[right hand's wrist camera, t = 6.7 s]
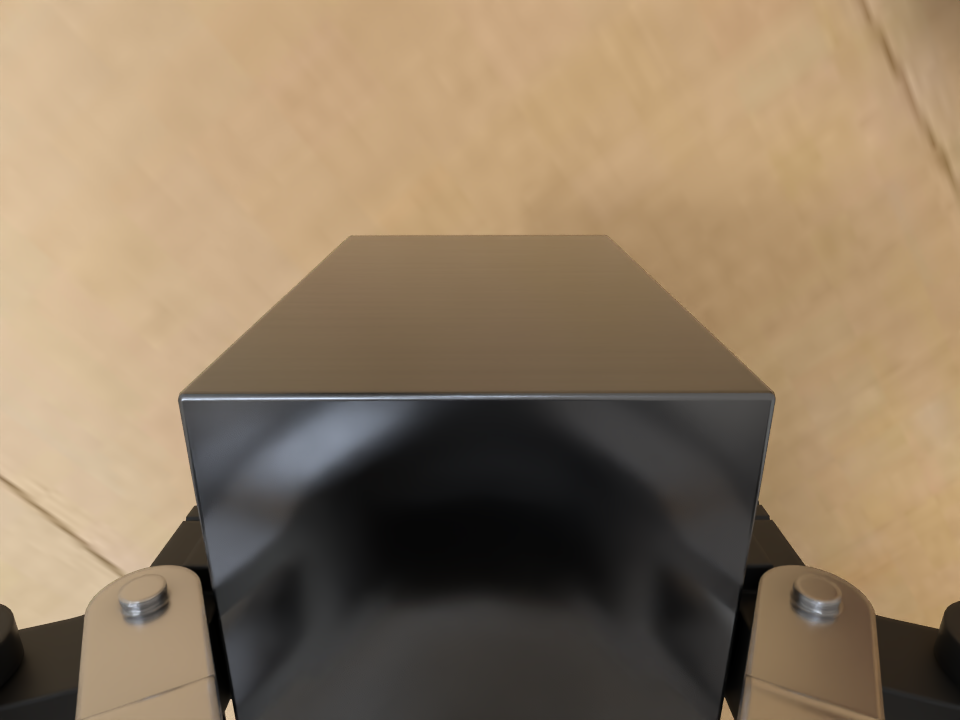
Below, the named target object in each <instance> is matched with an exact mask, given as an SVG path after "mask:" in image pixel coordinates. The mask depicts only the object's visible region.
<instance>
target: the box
mask: <svg viewBox="0 0 960 720" xmlns="http://www.w3.org/2000/svg"><path fill="white" fill-rule="evenodd" d="M178 402H179V408H180V413H181V419H182V425H183V430H184V436H185V441H186V447H187V452H188V458H189V463H190V469H191V474H192V480H193V486H194V491H195V497H196V502H197V508H198V513H199V519H200V524H201V530H202V536H203V541H204V547H205V552H206V558H207V563H208V569H209V574H210V580H211V585H212V591H213V597H214V602H215V608H216V613H217V619H218V624H219V630H220V635H221V641H222V646H223V652H224V658H225V663H226V669H227V674H228V680H229V685H230V691H231V696H232V702H233V707H234V713H235V719H236V720H720V717H721V712H722V706H723V700H724V694H725V688H726V683H727V677H728V671H729V665H730V660H731V654H732V648H733V642H734V636H735V631H736V625H737V619H738V613H739V608H740V602H741V596H742V590H743V584H744V579H745V573H746V567H747V561H748V555H749V550H750V544H751V538H752V532H753V527H754V521H755V515H756V509H757V503H758V498H759V492H760V486H761V480H762V474H763V469H764V463H765V457H766V451H767V446H768V440H769V434H770V428H771V422H772V417H773V411H774V405H775V394H774V392H773V391H772V390H771V389H770V388H769V387H768V386H767V385H766V384H765V383H764V382H762V381H761V380H760V379H759V378H758V377H757V376H756V375H755V374H754V373H753V372H752V371H751V370H750V369H749V368H748V367H747V366H745V365H744V364H743V363H742V362H741V361H740V360H739V359H738V358H737V357H736V356H735V355H734V354H733V353H732V352H731V351H730V350H728V349H727V348H726V347H725V346H724V345H723V344H722V343H721V342H720V341H719V340H718V339H717V338H716V337H715V336H714V335H713V334H711V333H710V332H709V331H708V330H707V329H706V328H705V327H704V326H703V325H702V324H701V323H700V322H699V321H698V320H697V319H696V318H695V317H693V316H692V315H691V314H690V313H689V312H688V311H687V310H686V309H685V308H684V307H683V306H682V305H681V304H680V303H679V302H678V301H676V300H675V299H674V298H673V297H672V296H671V295H670V294H669V293H668V292H667V291H666V290H665V289H664V288H663V287H662V286H661V285H659V284H658V283H657V282H656V281H655V280H654V279H653V278H652V277H651V276H650V275H649V274H648V273H647V272H646V271H645V270H644V269H642V268H641V267H640V266H639V265H638V264H637V263H636V262H635V261H634V260H633V259H632V258H631V257H630V256H629V255H628V254H627V253H625V252H624V251H623V250H622V249H621V248H620V247H619V246H618V245H617V244H616V243H615V242H614V241H613V240H612V239H611V238H610V237H608V236H607V235H383V236H349V237H348V238H347V239H346V240H344V241H343V242H342V243H341V244H340V245H339V246H338V247H337V248H336V249H335V250H334V251H333V252H332V253H330V254H329V255H328V256H327V257H326V258H325V259H324V260H323V261H322V262H321V263H320V264H319V265H318V266H316V267H315V268H314V269H313V270H312V271H311V272H310V273H309V274H308V275H307V276H306V277H305V278H304V279H302V280H301V281H300V282H299V283H298V284H297V285H296V286H295V287H294V288H293V289H292V290H291V291H289V292H288V293H287V294H286V295H285V296H284V297H283V298H282V299H281V300H280V301H279V302H278V303H277V304H275V305H274V306H273V307H272V308H271V309H270V310H269V311H268V312H267V313H266V314H265V315H264V316H263V317H261V318H260V319H259V320H258V321H257V322H256V323H255V324H254V325H253V326H252V327H251V328H250V329H249V330H247V331H246V332H245V333H244V334H243V335H242V336H241V337H240V338H239V339H238V340H237V341H236V342H234V343H233V344H232V345H231V346H230V347H229V348H228V349H227V350H226V351H225V352H224V353H223V354H222V355H220V356H219V357H218V358H217V359H216V360H215V361H214V362H213V363H212V364H211V365H210V366H209V367H208V368H206V369H205V370H204V371H203V372H202V373H201V374H200V375H199V376H198V377H197V378H196V379H195V380H193V381H192V382H191V383H190V384H189V385H188V386H187V387H186V388H185V389H184V390H183V391H182V392H181V393H180V394H179V398H178Z"/></svg>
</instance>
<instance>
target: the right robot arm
mask: <svg viewBox="0 0 960 720" xmlns="http://www.w3.org/2000/svg"><path fill="white" fill-rule="evenodd" d="M724 697H725V698H726V701H727V703H728V705H729V708H730V710H731V713H732V715H733V717H734V720H960V601H958V602H956V603H953V604H951V605H950V606H949V607H947V609H946V610H945V612H944V615H943V619H942V622H941V625H940V628H939V629H936V628H932V627H927V626H922V625H918V624H913V623H908V622H904V621H899V620H895V619H890V618H886V617H882V616H878V615H875V612H874V609H873V607H872V605H871V603H870V602H869V600H868V599H867V598H866V596H865V595H864V594H863V593H861V592H860V591H859V590H858V589H857V588H856V587H854V586H853V585H852V584H850V583H848V582H847V581H845V580H844V579H842V578H840V577H838V576H836V575H833V574H831V573H828V572H826V571H823V570H820V569H816V568H812V567H807V566H805V565H804V563H803V562H802V560H801V559H800V558H799V556H798V555H797V554H796V552H795V551H794V549H793V548H792V547H791V545H790V544H789V542H788V541H787V540H786V538H785V537H784V536H783V534H782V533H781V531H780V530H779V529H778V527H777V526H776V524H775V523H774V522H773V520H770V518H769V515H768V513H767V512H766V511H765V509H764V508H763V506H762V505H759V501H758V503H757V509H756V515H755V521H754V527H753V532H752V538H751V544H750V550H749V555H748V561H747V567H746V573H745V579H744V584H743V590H742V596H741V602H740V608H739V613H738V619H737V625H736V631H735V636H734V642H733V648H732V654H731V660H730V665H729V671H728V677H727V683H726V688H725V694H724ZM230 699H232V696H231V691H230V685H229V680H228V674H227V669H226V663H225V658H224V652H223V646H222V641H221V635H220V630H219V624H218V619H217V613H216V608H215V602H214V597H213V591H212V585H211V580H210V574H209V569H208V563H207V558H206V552H205V547H204V541H203V536H202V530H201V524H200V519H199V513H198V508H197V506H194V507H193V509H192V510H191V511H190V513H189V514H188V515H187V517H186V521H183V522H182V524H181V525H180V526H179V528H178V529H177V530H176V532H175V533H174V535H173V536H172V537H171V539H170V540H169V541H168V543H167V544H166V545H165V547H164V548H163V550H162V551H161V552H160V554H159V555H158V556H157V558H156V559H155V561H154V562H153V563H152V565H151V566H150V567H148V568H144V569H140V570H137V571H134V572H132V573H129V574H127V575H124V576H122V577H120V578H118V579H116V580H115V581H113V582H112V583H110V584H108V585H107V586H106V587H104V588H103V589H102V590H101V591H100V592H99V593H97V594H96V595H95V596H94V598H93V599H92V600H91V602H90V603H89V605H88V607H87V609H86V612H85V615H82V616H79V617H75V618H71V619H67V620H62V621H58V622H53V623H49V624H44V625H39V626H35V627H30V628H26V629H21V630H18V628H17V625H16V622H15V619H14V616H13V613H12V611H11V610H10V609H9V608H8V607H6V606H4V605H2V604H0V720H226V716H225V710H226V707H227V705H228V703H229V700H230Z"/></svg>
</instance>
